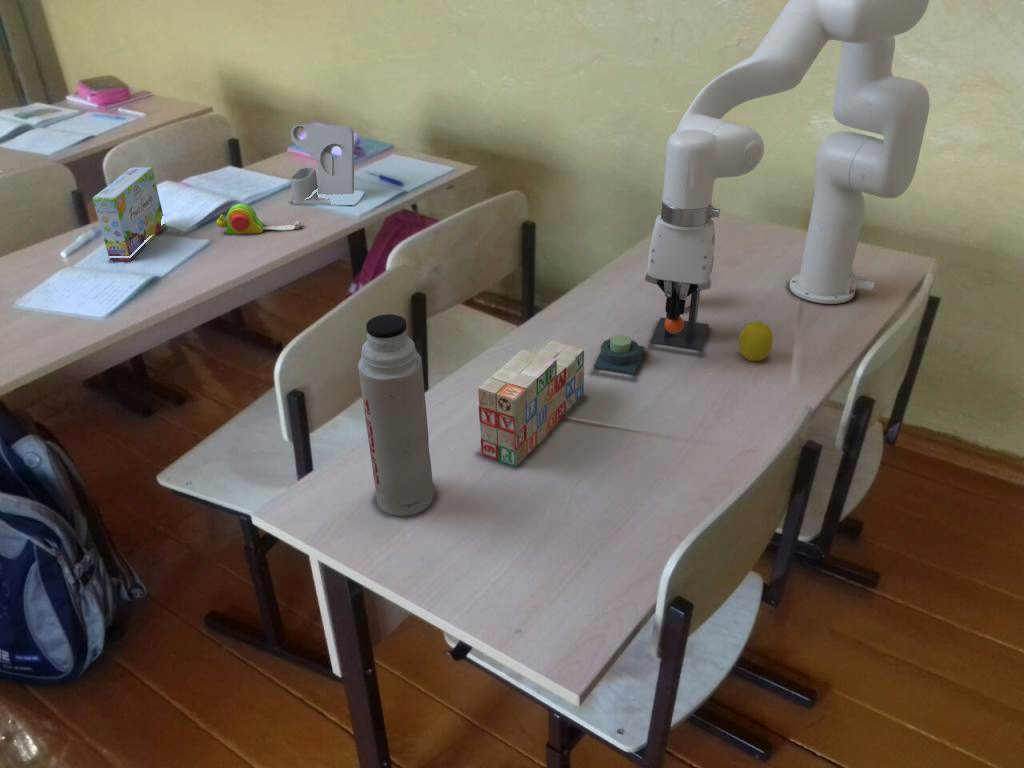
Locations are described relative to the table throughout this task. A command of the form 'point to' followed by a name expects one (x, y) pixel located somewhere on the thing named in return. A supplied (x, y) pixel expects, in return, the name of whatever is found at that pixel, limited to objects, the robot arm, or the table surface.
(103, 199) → the snack box
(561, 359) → the stack of blocks
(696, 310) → the switch bracket
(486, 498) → the table surface
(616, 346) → the green round button
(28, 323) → the table surface
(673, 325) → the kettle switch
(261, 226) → the toy measuring tape
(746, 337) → the lemon
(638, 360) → the dark piece
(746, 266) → the table surface
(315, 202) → the phone holder
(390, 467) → the thermos bottle
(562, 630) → the table surface
